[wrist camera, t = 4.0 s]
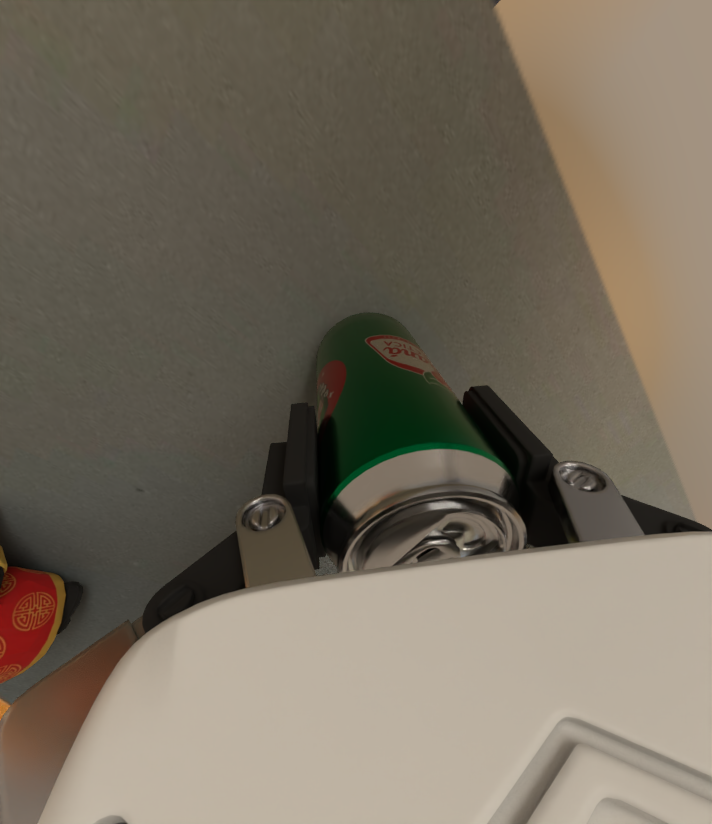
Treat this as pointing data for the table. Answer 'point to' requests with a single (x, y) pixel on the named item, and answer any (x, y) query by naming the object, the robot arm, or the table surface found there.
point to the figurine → (31, 615)
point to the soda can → (403, 457)
